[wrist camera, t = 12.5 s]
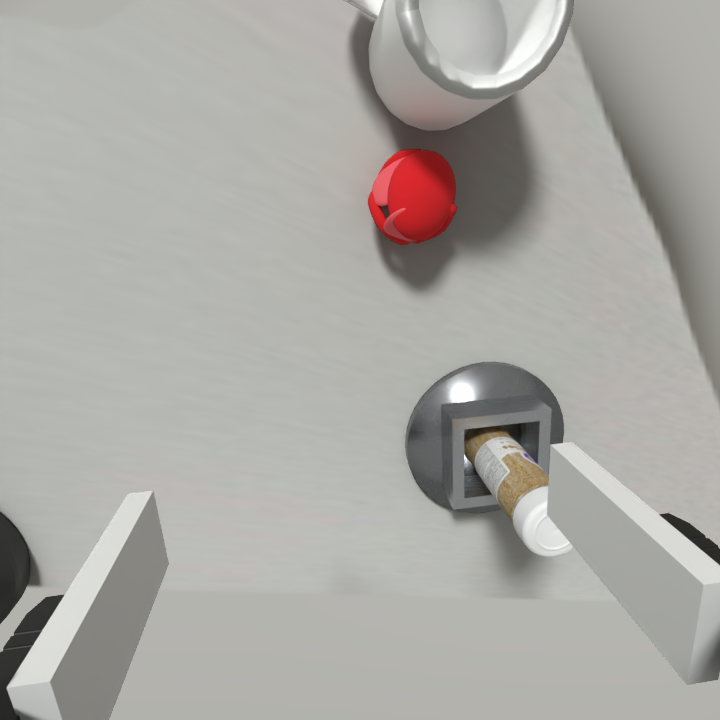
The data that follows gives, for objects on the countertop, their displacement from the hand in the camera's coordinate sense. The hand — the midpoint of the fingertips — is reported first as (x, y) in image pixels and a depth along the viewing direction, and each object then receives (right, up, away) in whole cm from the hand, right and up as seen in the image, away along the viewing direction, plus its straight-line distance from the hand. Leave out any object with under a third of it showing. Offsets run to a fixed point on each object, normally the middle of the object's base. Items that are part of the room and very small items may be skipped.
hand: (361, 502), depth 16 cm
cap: (+4, +18, +24) cm, 30 cm away
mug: (+5, +28, +21) cm, 35 cm away
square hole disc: (+12, -3, +30) cm, 32 cm away
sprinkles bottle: (+11, -3, +29) cm, 32 cm away
